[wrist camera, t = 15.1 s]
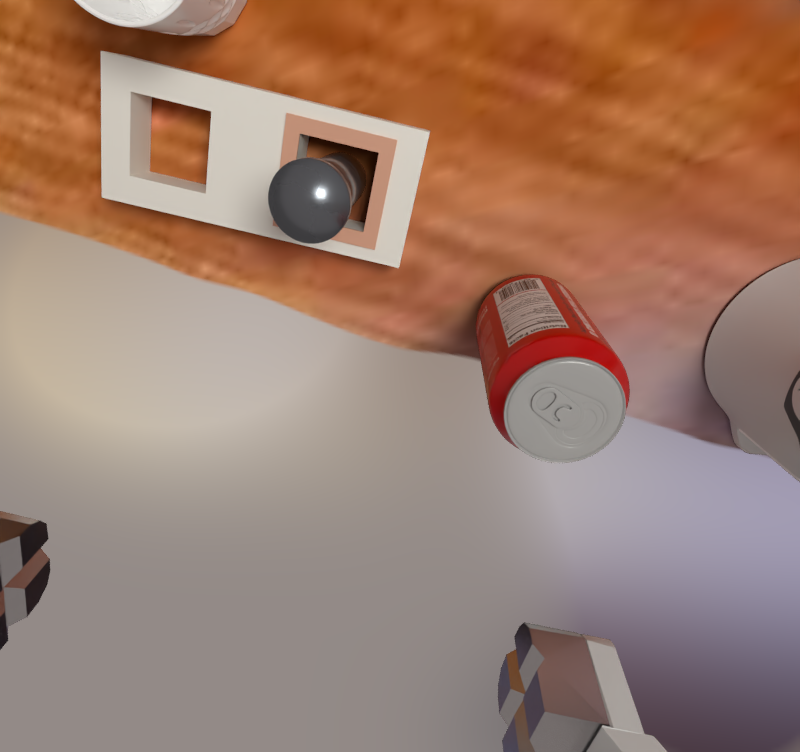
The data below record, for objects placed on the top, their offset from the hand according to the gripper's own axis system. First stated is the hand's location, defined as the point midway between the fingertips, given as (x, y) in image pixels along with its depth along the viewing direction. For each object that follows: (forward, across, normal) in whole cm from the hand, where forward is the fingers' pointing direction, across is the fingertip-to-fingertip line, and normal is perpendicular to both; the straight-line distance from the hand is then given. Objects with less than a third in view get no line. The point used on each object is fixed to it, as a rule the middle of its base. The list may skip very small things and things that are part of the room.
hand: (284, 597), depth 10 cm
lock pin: (+35, -5, +2) cm, 35 cm away
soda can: (+35, +11, -5) cm, 37 cm away
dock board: (+35, -10, +2) cm, 37 cm away
